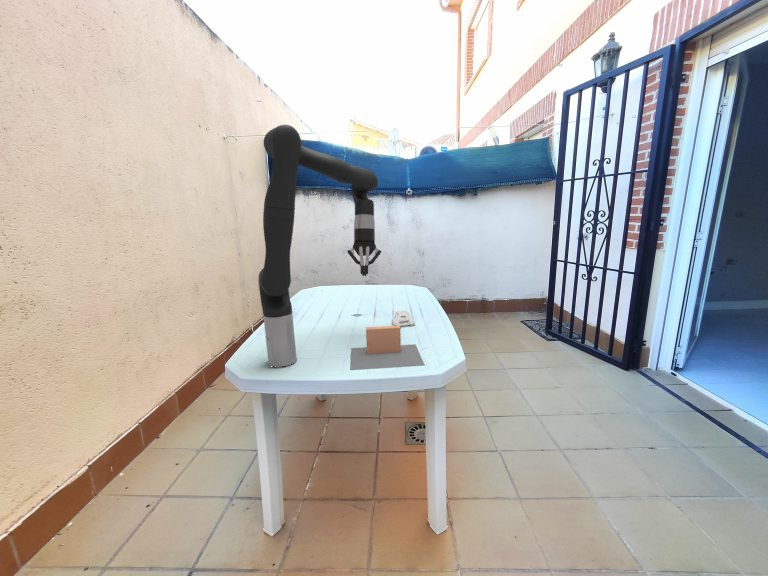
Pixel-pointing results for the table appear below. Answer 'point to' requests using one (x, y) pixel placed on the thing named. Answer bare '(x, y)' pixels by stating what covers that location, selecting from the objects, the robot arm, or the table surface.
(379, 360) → the mat
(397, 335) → the tile
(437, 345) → the table surface
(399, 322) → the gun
